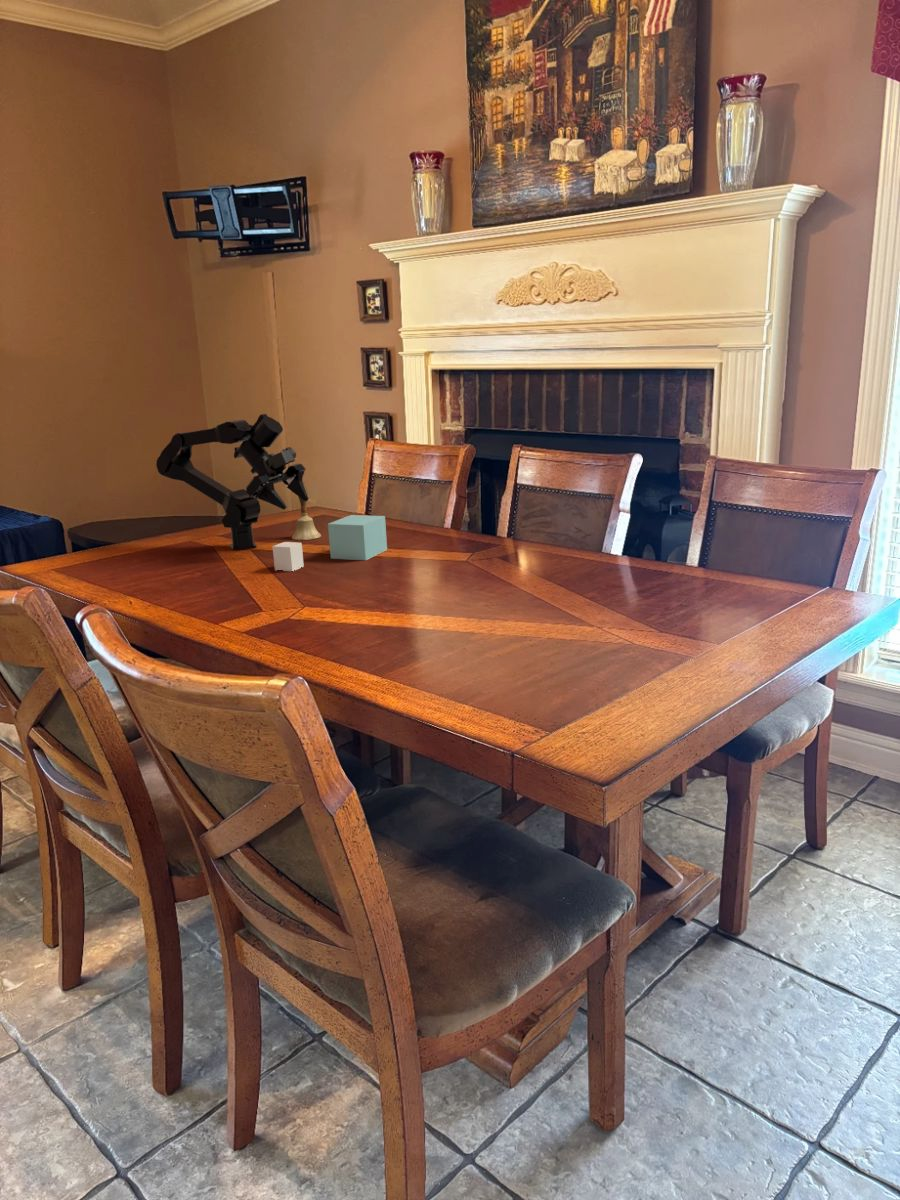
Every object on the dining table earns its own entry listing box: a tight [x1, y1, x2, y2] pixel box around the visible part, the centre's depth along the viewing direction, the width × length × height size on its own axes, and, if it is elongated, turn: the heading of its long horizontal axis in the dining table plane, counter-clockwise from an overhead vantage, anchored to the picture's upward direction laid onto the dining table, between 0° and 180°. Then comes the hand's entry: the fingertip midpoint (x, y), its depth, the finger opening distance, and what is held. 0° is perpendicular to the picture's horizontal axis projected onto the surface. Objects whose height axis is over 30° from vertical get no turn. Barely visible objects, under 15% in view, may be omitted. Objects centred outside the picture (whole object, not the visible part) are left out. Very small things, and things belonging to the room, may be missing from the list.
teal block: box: [327, 514, 388, 561], centre depth 217 cm, size 10×12×9 cm
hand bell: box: [291, 480, 322, 541], centre depth 239 cm, size 8×8×16 cm
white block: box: [271, 541, 305, 572], centre depth 206 cm, size 5×5×6 cm
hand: (296, 504), depth 221 cm, fingers open, 9 cm apart
